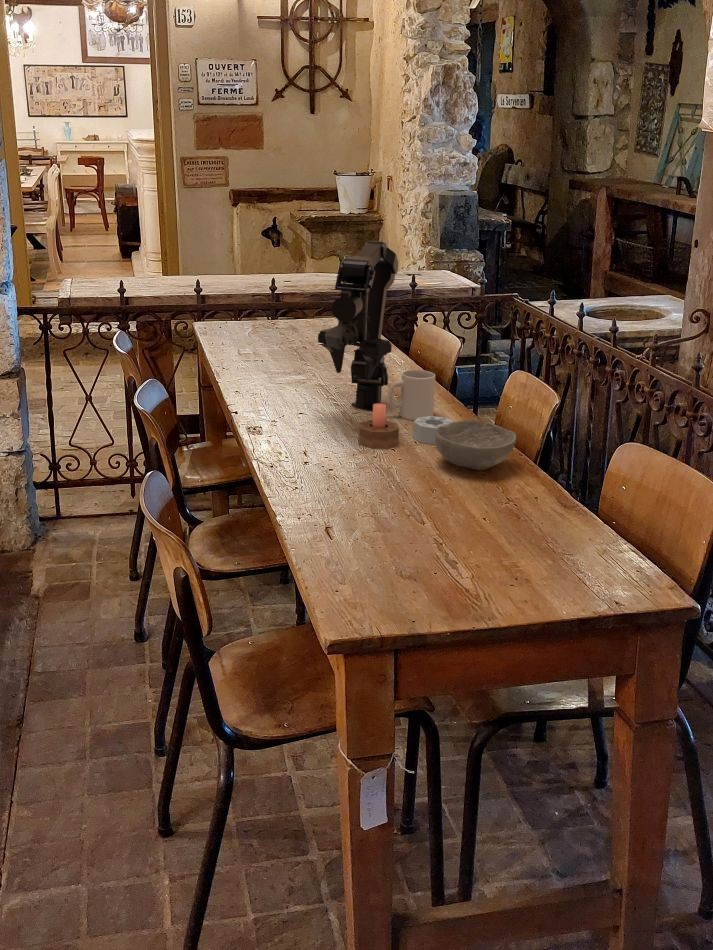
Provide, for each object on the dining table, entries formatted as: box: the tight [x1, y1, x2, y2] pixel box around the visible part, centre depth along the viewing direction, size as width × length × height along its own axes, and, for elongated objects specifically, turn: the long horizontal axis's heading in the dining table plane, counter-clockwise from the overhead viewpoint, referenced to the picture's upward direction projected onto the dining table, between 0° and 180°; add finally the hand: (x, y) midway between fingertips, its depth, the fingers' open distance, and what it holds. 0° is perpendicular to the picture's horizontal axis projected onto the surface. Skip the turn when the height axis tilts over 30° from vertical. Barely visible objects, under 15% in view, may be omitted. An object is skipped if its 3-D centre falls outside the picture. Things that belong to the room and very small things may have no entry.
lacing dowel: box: [371, 402, 387, 429], centre depth 239 cm, size 3×3×9 cm
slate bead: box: [412, 415, 454, 446], centre depth 244 cm, size 9×9×4 cm
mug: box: [388, 369, 436, 421], centre depth 259 cm, size 12×8×11 cm
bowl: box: [435, 419, 517, 471], centre depth 226 cm, size 18×18×8 cm
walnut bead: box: [358, 419, 400, 449], centre depth 240 cm, size 9×9×4 cm
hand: (353, 376), depth 249 cm, fingers open, 9 cm apart
